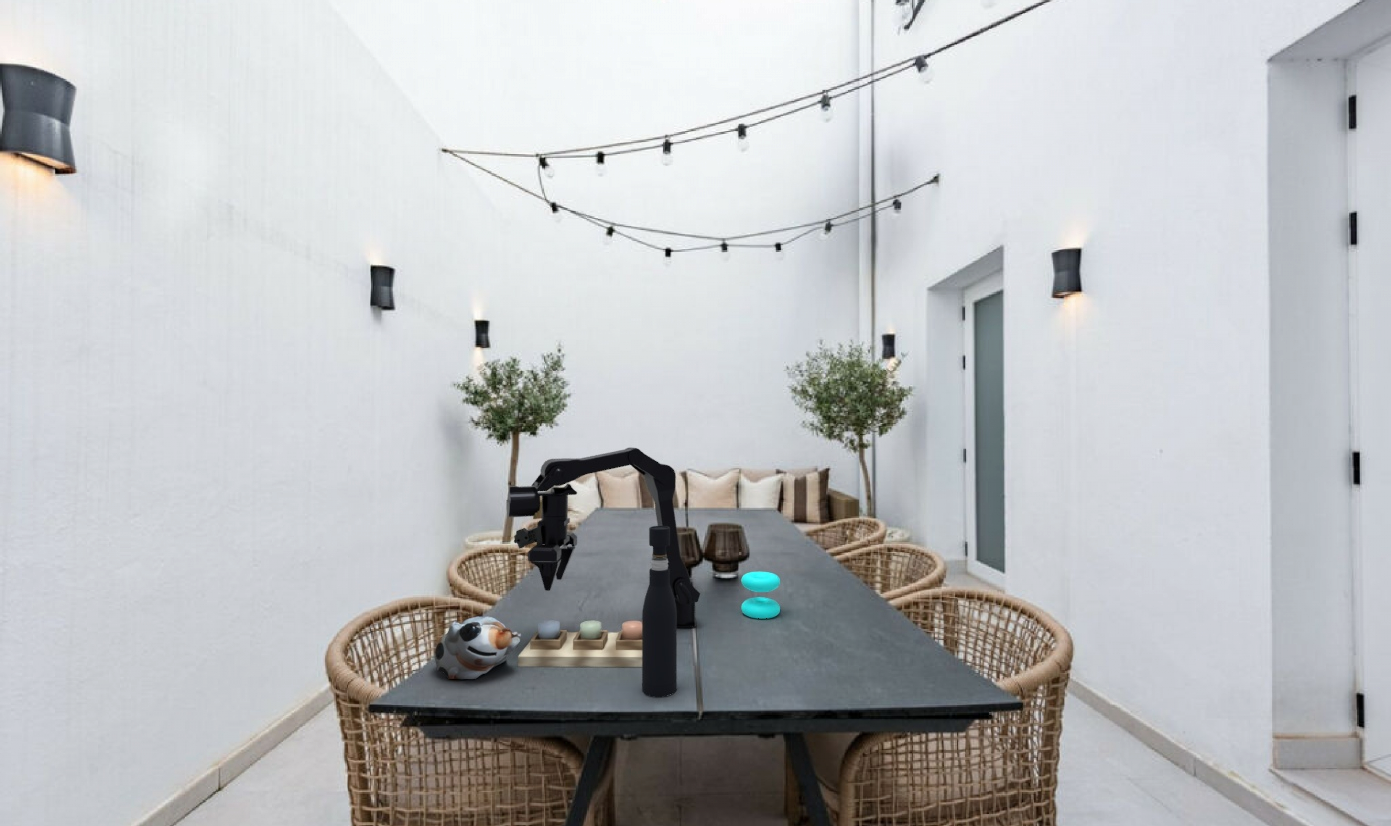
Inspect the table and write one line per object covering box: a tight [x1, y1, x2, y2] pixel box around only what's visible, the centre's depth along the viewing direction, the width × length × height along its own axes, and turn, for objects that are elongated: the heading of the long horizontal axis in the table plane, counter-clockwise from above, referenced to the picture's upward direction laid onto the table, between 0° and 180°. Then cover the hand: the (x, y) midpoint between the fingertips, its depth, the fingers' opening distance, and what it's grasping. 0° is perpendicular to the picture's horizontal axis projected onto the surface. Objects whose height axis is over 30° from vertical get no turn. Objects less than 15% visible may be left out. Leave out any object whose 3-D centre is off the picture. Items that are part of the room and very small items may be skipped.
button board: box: [517, 629, 642, 668], centre depth 128 cm, size 27×14×4 cm, turn 89°
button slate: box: [537, 619, 561, 639], centre depth 128 cm, size 4×4×2 cm
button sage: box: [579, 619, 602, 639], centre depth 128 cm, size 4×4×2 cm
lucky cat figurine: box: [434, 616, 522, 680], centre depth 119 cm, size 15×12×14 cm
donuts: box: [740, 571, 781, 620], centre depth 155 cm, size 10×10×10 cm
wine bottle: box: [641, 525, 678, 698], centre depth 111 cm, size 6×6×30 cm
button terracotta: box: [621, 620, 642, 640], centre depth 128 cm, size 4×4×2 cm
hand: (553, 584), depth 134 cm, fingers open, 9 cm apart
